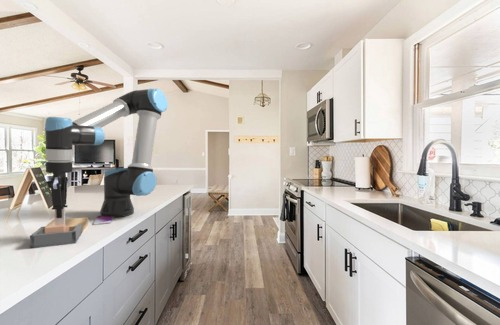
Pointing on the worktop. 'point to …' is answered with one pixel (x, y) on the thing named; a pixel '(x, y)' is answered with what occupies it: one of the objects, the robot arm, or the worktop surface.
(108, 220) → the smartphone
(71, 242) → the tray
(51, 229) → the tile
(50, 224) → the board
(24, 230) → the worktop surface
